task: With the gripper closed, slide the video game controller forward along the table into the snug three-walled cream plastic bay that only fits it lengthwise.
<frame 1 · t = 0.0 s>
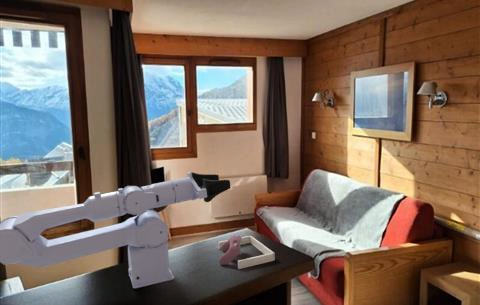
hand: (223, 181, 89), 22 cm above the table, tool horizontal, fingers open, 7 cm apart
video game controller: (230, 258, 93), on the table
dock: (244, 254, 95), on the table
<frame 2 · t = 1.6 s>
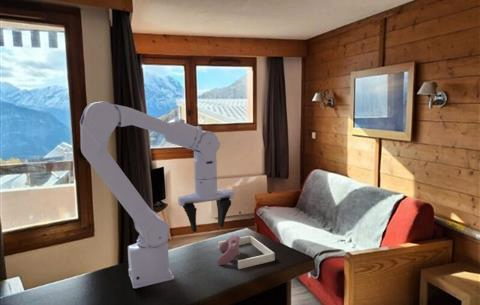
hand: (207, 228, 89), 9 cm above the table, tool pointing down, fingers open, 7 cm apart
nothing on the table moved.
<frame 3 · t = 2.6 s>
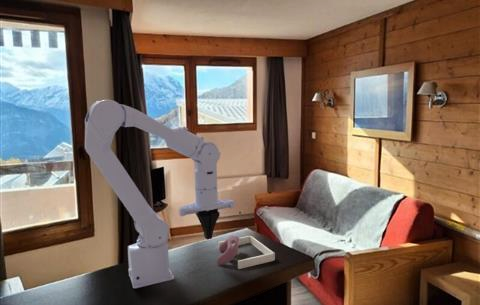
hand: (208, 237, 90), 7 cm above the table, tool pointing down, fingers closed
nothing on the table moved.
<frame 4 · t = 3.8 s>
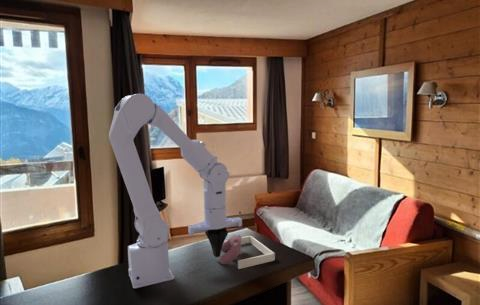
hand: (216, 255, 91), 1 cm above the table, tool pointing down, fingers closed
video game controller: (231, 257, 93), on the table, touching gripper
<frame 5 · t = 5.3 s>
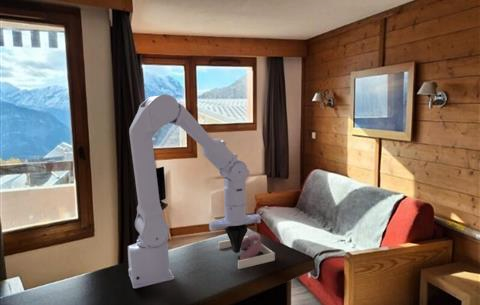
hand: (236, 251, 94), 1 cm above the table, tool pointing down, fingers closed
video game controller: (250, 255, 95), on the table, touching gripper
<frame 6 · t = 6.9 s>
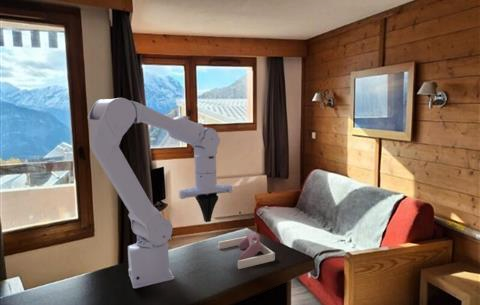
hand: (207, 220, 93), 10 cm above the table, tool pointing down, fingers closed
video game controller: (249, 255, 95), on the table
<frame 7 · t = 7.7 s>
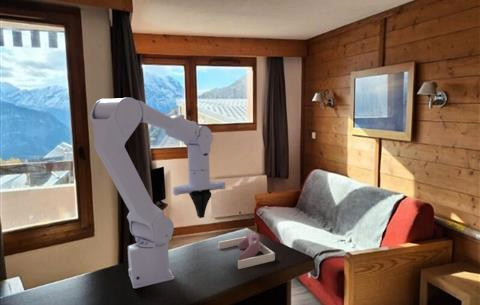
hand: (200, 216, 96), 10 cm above the table, tool pointing down, fingers closed
nothing on the table moved.
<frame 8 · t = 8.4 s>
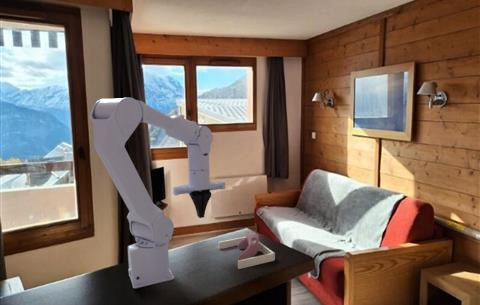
hand: (200, 216, 96), 10 cm above the table, tool pointing down, fingers closed
nothing on the table moved.
at the end: video game controller 0.9 cm from the target spot on the dock, point 0.0 cm above the dock's base; video game controller moved 5.0 cm from its start; the gripper is holding nothing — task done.
